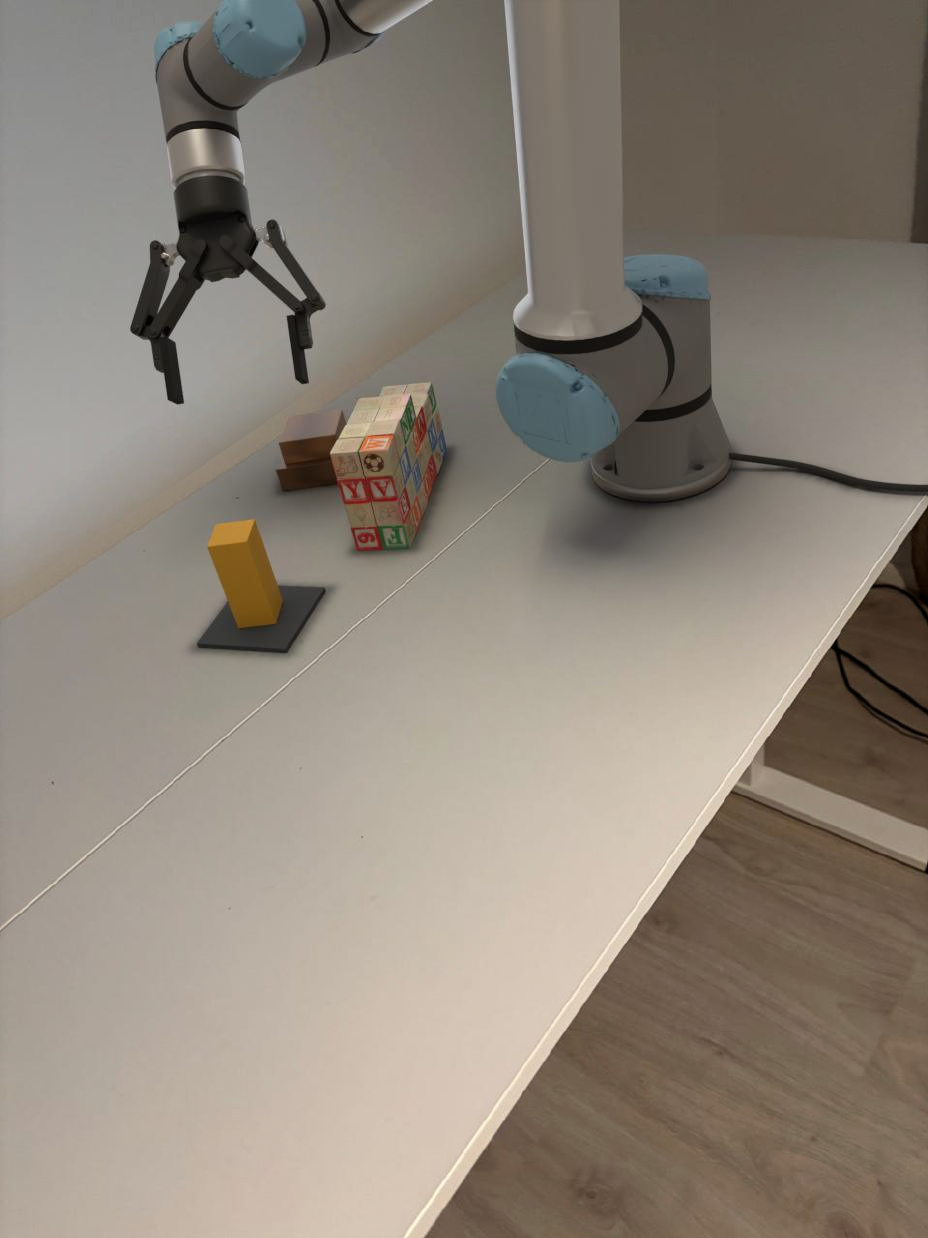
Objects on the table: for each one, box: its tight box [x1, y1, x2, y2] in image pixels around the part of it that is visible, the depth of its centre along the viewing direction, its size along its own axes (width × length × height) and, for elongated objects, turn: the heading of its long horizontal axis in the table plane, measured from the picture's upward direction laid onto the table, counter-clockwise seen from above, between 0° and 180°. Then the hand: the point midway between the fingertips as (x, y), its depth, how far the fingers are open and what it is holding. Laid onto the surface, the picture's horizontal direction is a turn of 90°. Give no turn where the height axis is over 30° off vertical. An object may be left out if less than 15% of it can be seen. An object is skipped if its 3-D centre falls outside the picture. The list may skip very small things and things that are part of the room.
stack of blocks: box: [330, 381, 448, 551], centre depth 115 cm, size 21×6×12 cm, turn 170°
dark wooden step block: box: [275, 408, 347, 492], centre depth 127 cm, size 9×9×6 cm
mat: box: [196, 585, 326, 653], centre depth 105 cm, size 10×10×1 cm
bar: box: [206, 518, 283, 628], centre depth 101 cm, size 4×4×10 cm
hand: (238, 391), depth 107 cm, fingers open, 13 cm apart
